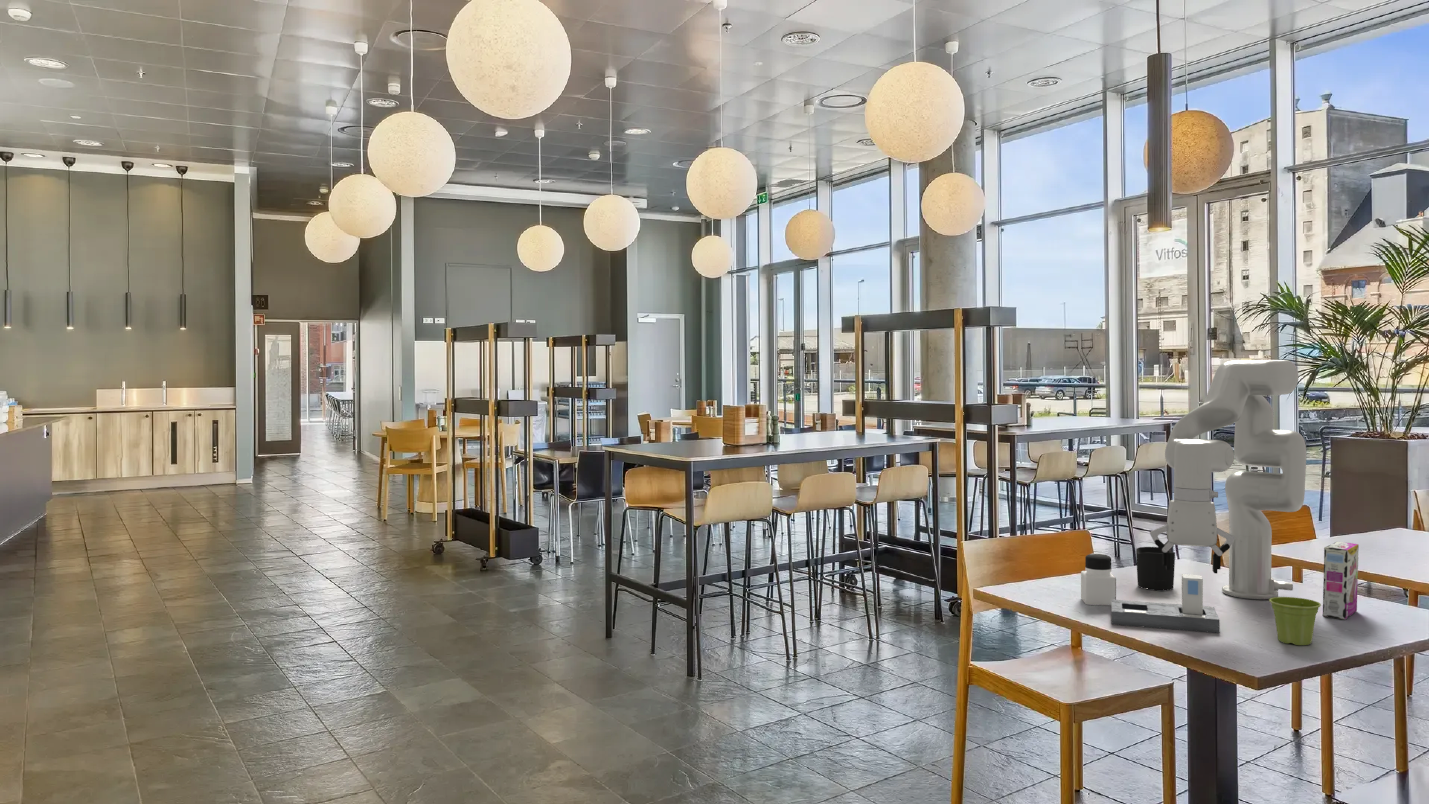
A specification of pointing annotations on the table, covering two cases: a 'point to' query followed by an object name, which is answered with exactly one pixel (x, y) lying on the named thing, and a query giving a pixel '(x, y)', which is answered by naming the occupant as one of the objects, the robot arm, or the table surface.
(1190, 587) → the plug
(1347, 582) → the candy bar box
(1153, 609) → the jack panel
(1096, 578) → the medicine bottle
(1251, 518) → the robot arm
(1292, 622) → the plant pot
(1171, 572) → the pen holder
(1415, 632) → the table surface
